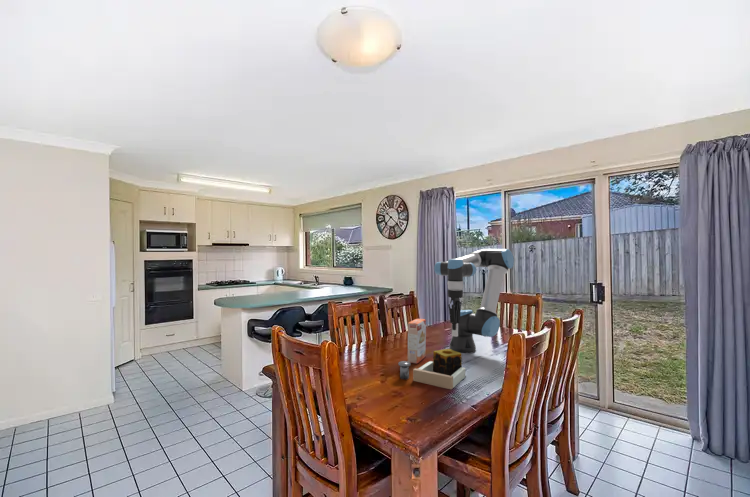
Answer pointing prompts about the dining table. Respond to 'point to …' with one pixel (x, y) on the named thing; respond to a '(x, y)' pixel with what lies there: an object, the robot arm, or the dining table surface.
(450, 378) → the bay
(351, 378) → the dining table surface
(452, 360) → the candle
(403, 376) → the mushroom drawer knob
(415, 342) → the cracker box
